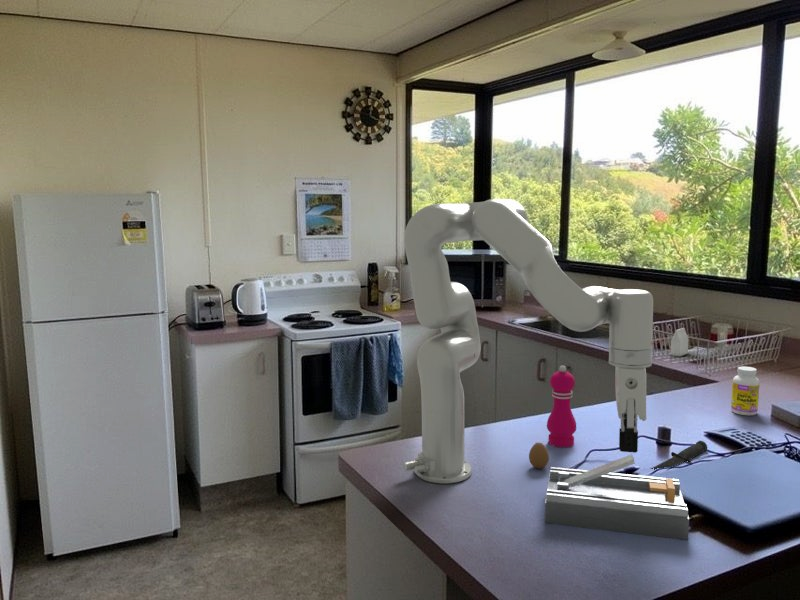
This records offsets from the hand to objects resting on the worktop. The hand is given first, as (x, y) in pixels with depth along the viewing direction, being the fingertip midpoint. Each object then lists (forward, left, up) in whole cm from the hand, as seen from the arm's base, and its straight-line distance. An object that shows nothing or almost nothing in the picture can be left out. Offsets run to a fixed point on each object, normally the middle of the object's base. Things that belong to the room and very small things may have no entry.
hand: (628, 450), depth 121 cm
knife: (+29, +12, -14) cm, 35 cm away
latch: (+4, -4, -9) cm, 11 cm away
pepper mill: (+15, +35, -13) cm, 40 cm away
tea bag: (+119, +82, -13) cm, 145 cm away
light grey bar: (-4, +4, -6) cm, 8 cm away
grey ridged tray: (-2, +2, -13) cm, 13 cm away
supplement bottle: (+75, +26, -13) cm, 81 cm away
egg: (0, +26, -13) cm, 29 cm away
